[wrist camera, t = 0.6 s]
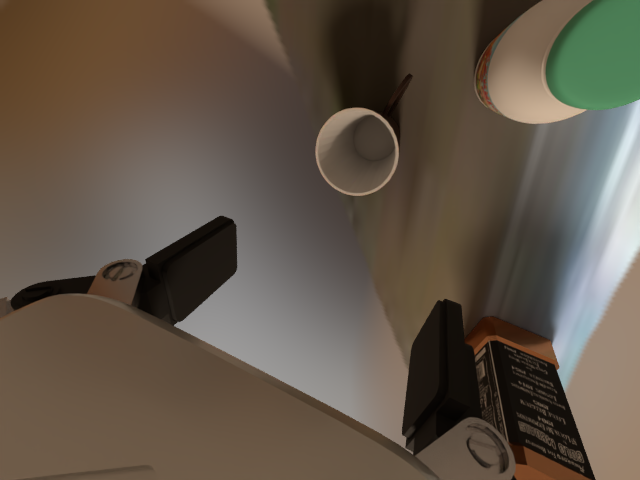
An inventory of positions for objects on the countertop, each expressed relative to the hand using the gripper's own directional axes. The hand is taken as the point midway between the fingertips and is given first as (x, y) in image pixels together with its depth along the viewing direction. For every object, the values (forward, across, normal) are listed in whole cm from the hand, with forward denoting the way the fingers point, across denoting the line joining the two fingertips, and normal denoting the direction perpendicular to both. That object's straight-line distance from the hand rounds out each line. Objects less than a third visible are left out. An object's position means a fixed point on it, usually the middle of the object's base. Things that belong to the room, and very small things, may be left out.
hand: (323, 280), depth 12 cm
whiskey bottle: (+28, -24, +25) cm, 45 cm away
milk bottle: (+28, -8, -10) cm, 31 cm away
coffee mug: (+28, +3, -2) cm, 29 cm away
